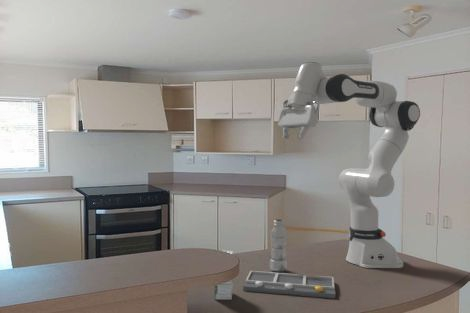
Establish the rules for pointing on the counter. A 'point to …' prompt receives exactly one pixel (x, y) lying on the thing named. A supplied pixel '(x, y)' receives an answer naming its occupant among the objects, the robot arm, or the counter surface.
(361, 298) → the counter surface
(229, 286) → the syrup box
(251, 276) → the board
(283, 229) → the plastic bottle
